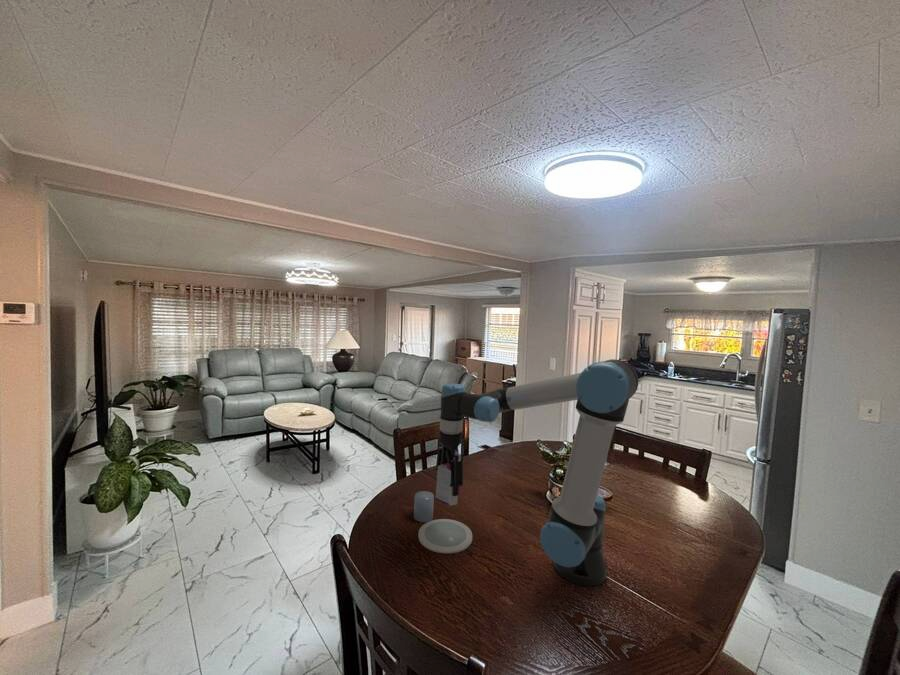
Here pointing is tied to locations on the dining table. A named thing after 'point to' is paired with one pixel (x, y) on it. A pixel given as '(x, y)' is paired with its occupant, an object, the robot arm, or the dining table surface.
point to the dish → (445, 536)
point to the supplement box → (444, 483)
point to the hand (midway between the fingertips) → (447, 498)
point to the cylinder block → (423, 506)
